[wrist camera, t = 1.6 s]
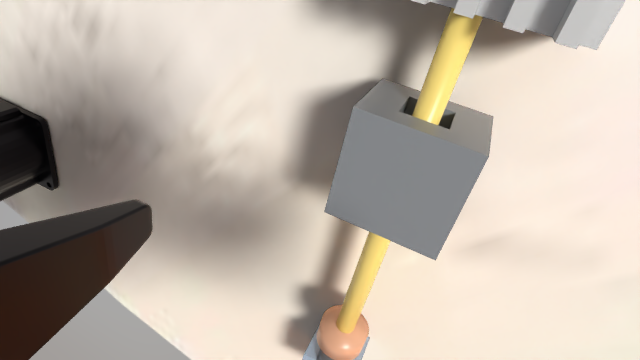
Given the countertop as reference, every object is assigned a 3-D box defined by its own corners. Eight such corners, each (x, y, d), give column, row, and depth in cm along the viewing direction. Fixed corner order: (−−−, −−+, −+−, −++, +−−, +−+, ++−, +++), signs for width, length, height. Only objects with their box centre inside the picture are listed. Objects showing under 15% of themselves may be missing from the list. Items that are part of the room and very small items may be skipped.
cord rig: (387, 379, 29) (367, 449, 25) (287, 328, 30) (253, 385, 26) (631, -67, 14) (681, -75, 10) (406, -118, 15) (368, -144, 11)
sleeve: (448, 207, 20) (435, 260, 16) (354, 170, 21) (324, 211, 18) (493, 116, 17) (488, 156, 14) (382, 78, 18) (353, 106, 15)
